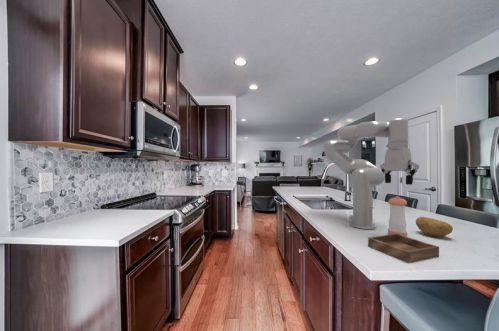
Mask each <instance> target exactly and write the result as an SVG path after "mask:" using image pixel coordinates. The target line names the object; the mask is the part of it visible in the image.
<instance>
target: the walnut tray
mask: <svg viewBox="0 0 499 331" xmlns="http://www.w3.org/2000/svg"><path fill="white" fill-rule="evenodd" d="M367 239H368V240H367V244H368V245H367V246H368V247H369V248H372V249H374V250H376V251H378V252H382V253H384V254H385V255H389V256H391V257H393V258H396V259H398V260H401V261H403V262H406V263H408V264H410V263H415V262H420V261H424V260H428V259H433V258H437V257H440V246H438V245H434V244H431V243H428V242H425V241H421V240H418V239H415V238H412V237H409V236H407V237H405V236H402V235H399V234H390V235H388V234H384V235H383V234H382V235H377V236H372V237H368V238H367Z"/></svg>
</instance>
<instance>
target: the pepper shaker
mask: <svg viewBox="0 0 499 331" xmlns="http://www.w3.org/2000/svg"><path fill="white" fill-rule="evenodd" d="M387 202H388V204H389V205H390V208H389V209H390V211H389V212H390V213H389V219H388V228H387V235H390V234H399V235H402V236H405V237H408V231H407V221H406V210H405V209H406V206H407V205H408V201H407V200H406V199H404V198H402V197H400V196H398V195H395V197H391V198H389V199H388V201H387Z"/></svg>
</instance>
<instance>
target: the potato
mask: <svg viewBox="0 0 499 331" xmlns="http://www.w3.org/2000/svg"><path fill="white" fill-rule="evenodd" d="M415 225H416V226H417V228H418V230H420V231H421V232H423V233H424V234H426V235H428V236H431V237H441V238H442V237H446V236H448V235H450V234H451V233H452V232H453V230H454V229H453V226H452V225H451V224H450V223H448V222H446V221H443V220H439V219H436V218H430V217H425V216H419V217H417V218H416V219H415Z"/></svg>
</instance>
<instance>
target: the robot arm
mask: <svg viewBox="0 0 499 331" xmlns="http://www.w3.org/2000/svg"><path fill="white" fill-rule="evenodd" d="M336 134H337V135H336V136H337V137H338V138H339V139H330V140H327V141H326V142H324V145H323V153H324V155H325V157H326V158H327V160H329V161H330V162H332V164H334V166H335V165H336V167H338V169H339V170H341V171H342V172H343V173H344V174H346V175H349V176H350V181H351V185H352V215H351V214H350V216H348V220H350V222H349V226H351V228H352V227H353V228H356V229H360V230H361V229H362V230H375V229H376V227H377V226H376V224H374V223H373V222H374V221H373V205H374V204H373V200H374V199H373V191H372V189H371V187H370V186H380V185H382V184H383V183H385V184H391V183H392V174H391V173H392V172H402V171H403V172H405V174H406V175H405V184H406V185H408V186H410V185H413V182H414V176H415V174H416V173H417V172H418V170H419V168H420V164H418V163H415V162H413V160H412V159H413V158H412V153H411V150H410V148H409V120H408V119H407V118H403V117H399V118H392V119H390V120H389V121H381V120H380V121H379V120H371V121H363V122H359V123H358V124H352V125H345V126H342V127H340V128H339V129H338V130H337V132H336ZM370 137H371V138H387V144H386V148H387V149H386V151H385V153H384V154H385V156H384V162H383V163H381V164H380V165H379V167H377V165H374V164H373V163H371V162H370V161H368V160H367V159H363V158H362V159H361V158H351V157H350V156H348V155H347V153H350V152H351V151H352V150H353V148H354V147H356V145H357V144H358V143H359V142H360V141H361V140H363V139H364V138H370Z"/></svg>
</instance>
